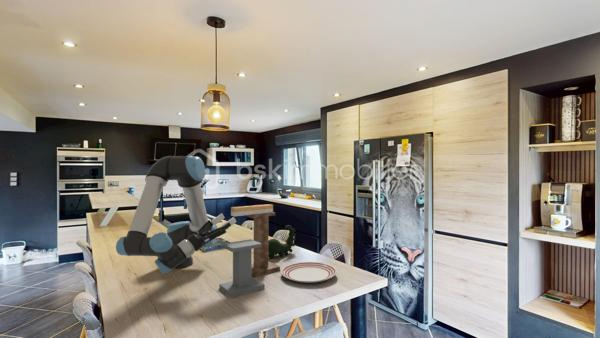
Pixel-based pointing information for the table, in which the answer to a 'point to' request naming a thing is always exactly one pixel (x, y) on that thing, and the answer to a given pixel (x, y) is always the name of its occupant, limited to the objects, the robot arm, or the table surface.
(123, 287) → the table surface
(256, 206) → the brown and gray block
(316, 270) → the dinner plate
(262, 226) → the tall stand
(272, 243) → the dark green knobbed ball
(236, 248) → the low stand
